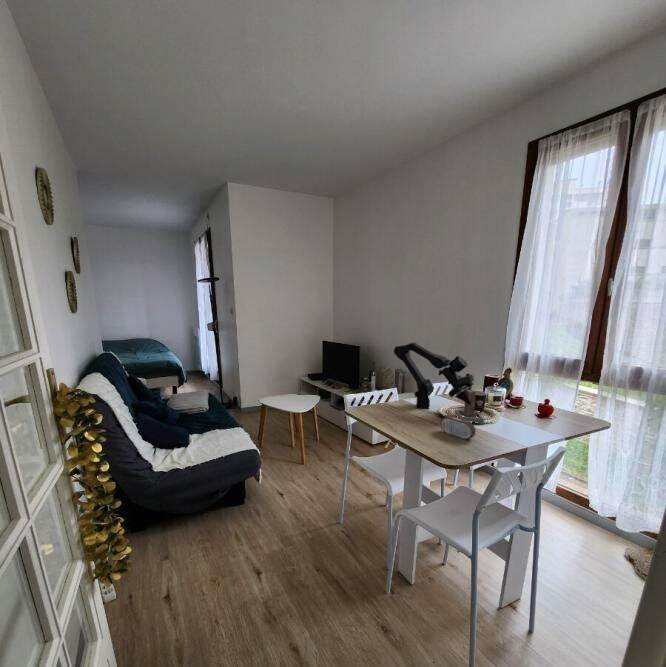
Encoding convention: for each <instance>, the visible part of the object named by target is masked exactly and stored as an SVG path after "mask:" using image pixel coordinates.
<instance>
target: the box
mask: <svg viewBox="0 0 666 667" xmlns="http://www.w3.org/2000/svg"><path fill="white" fill-rule="evenodd" d="M462 410H463V409H455V410H454V412H455V413H454V415H455V414H456V415H457V416H458V418H461V419H464V420H467V421H474V422H478V423H480V424H479V425H483V424H485V418H484V417H483V416H482V414H481V412H478V411H474V412H475V413H477V414H476V416H477V417H478V418H477V417H462V416H461V414H462Z"/></svg>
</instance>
